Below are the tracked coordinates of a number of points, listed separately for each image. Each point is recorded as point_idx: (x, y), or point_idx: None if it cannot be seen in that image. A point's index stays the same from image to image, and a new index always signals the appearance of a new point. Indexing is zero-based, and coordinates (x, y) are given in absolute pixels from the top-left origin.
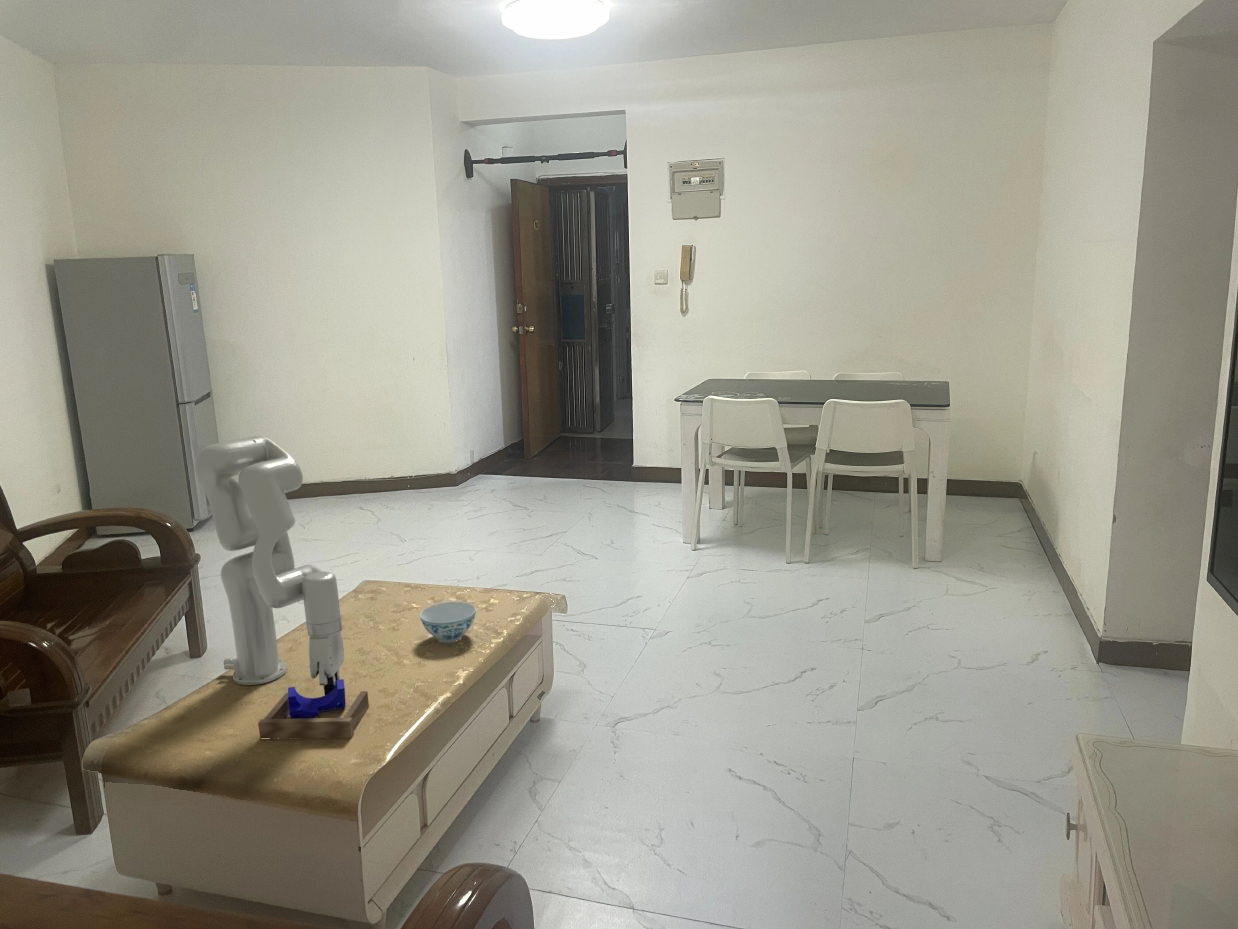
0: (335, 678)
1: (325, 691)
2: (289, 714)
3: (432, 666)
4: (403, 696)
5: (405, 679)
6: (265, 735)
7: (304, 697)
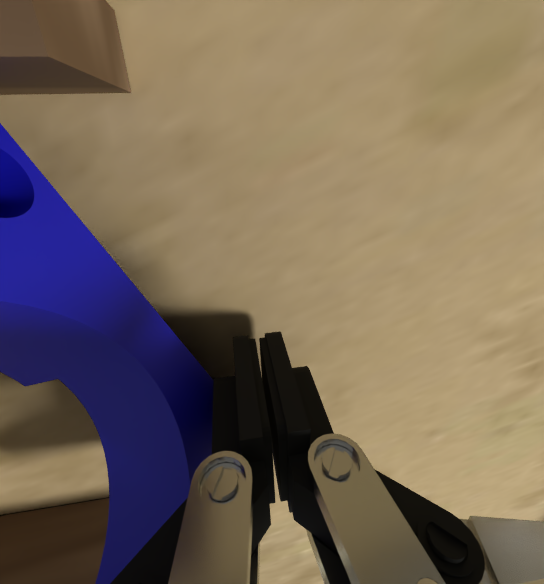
0: (315, 530)
1: (236, 393)
2: (2, 93)
3: None
4: (305, 542)
5: (438, 501)
6: None
7: (12, 307)
